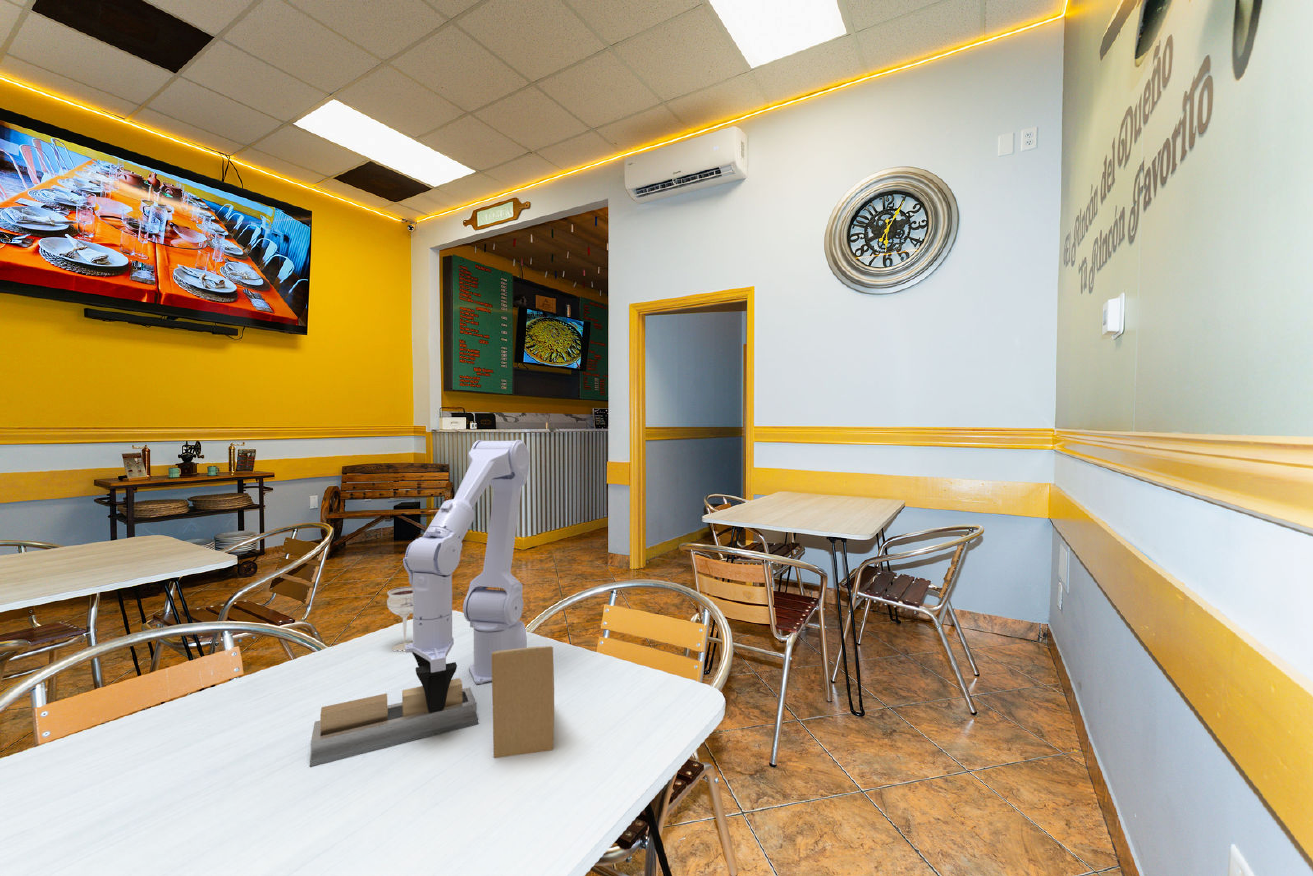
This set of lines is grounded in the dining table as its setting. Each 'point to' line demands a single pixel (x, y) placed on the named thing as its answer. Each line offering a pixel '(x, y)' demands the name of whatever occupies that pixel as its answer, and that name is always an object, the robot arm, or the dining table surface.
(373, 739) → the track
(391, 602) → the wineglass
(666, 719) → the dining table surface
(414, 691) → the tan rectangular block
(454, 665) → the robot arm
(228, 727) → the dining table surface
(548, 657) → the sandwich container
